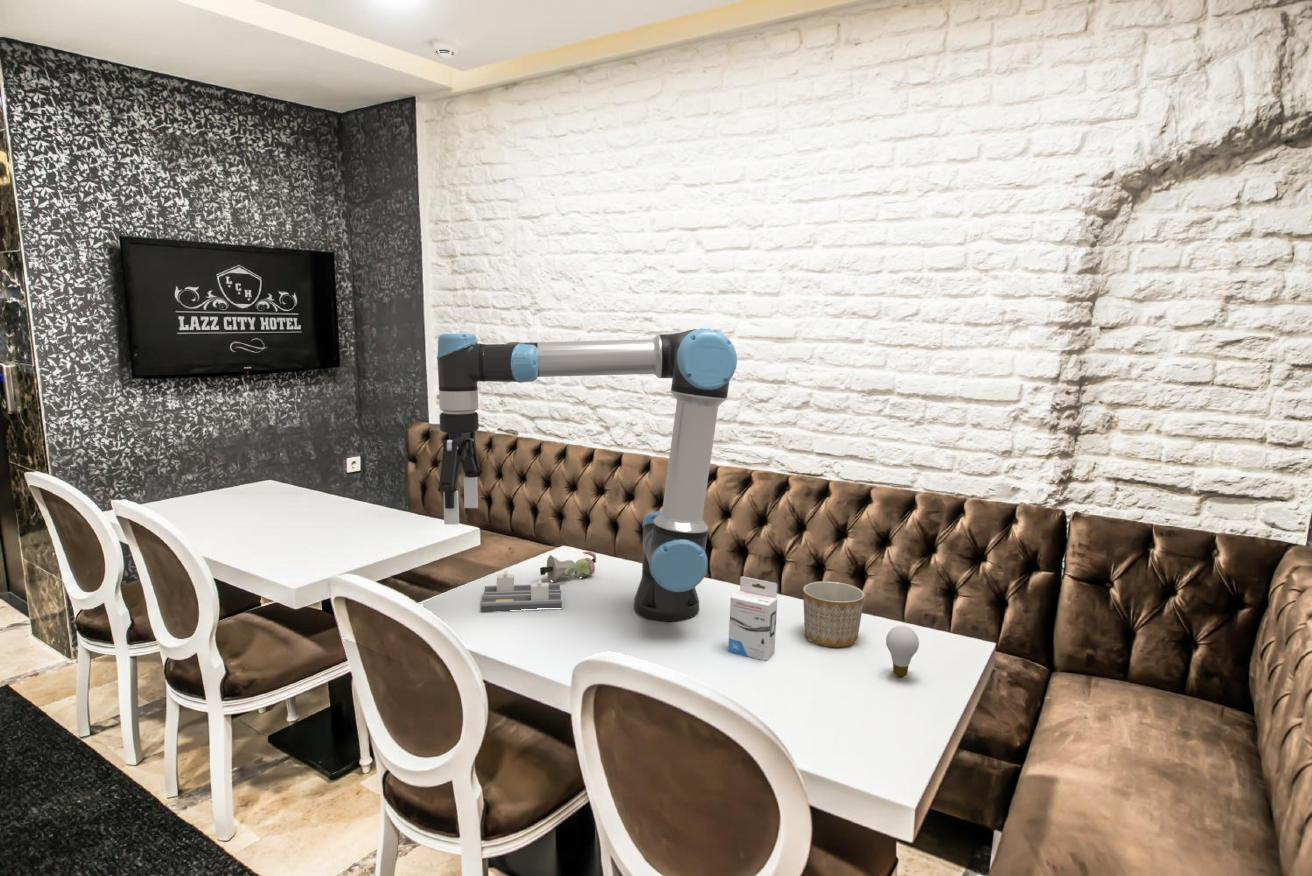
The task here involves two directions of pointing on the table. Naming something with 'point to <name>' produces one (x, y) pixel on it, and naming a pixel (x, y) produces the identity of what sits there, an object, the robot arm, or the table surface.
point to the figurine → (569, 567)
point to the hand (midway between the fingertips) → (461, 515)
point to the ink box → (753, 619)
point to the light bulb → (902, 648)
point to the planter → (832, 613)
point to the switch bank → (519, 599)
